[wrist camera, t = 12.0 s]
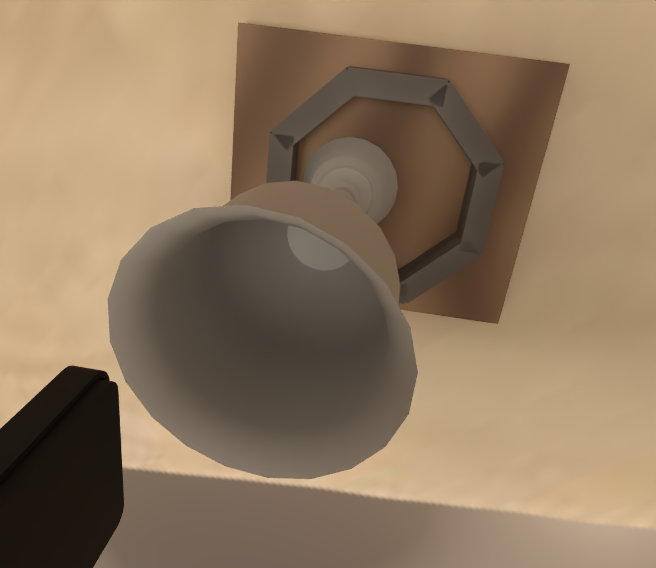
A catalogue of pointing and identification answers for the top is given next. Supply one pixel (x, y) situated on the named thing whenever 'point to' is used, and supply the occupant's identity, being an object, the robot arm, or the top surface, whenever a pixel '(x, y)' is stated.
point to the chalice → (273, 321)
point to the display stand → (408, 147)
